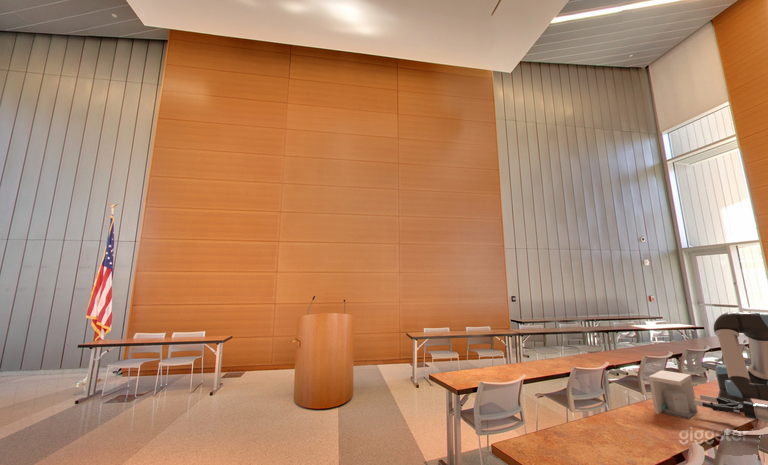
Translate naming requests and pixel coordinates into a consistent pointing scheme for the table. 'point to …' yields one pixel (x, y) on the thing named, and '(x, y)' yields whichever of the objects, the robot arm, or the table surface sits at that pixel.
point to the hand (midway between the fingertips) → (697, 399)
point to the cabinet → (672, 383)
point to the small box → (676, 401)
